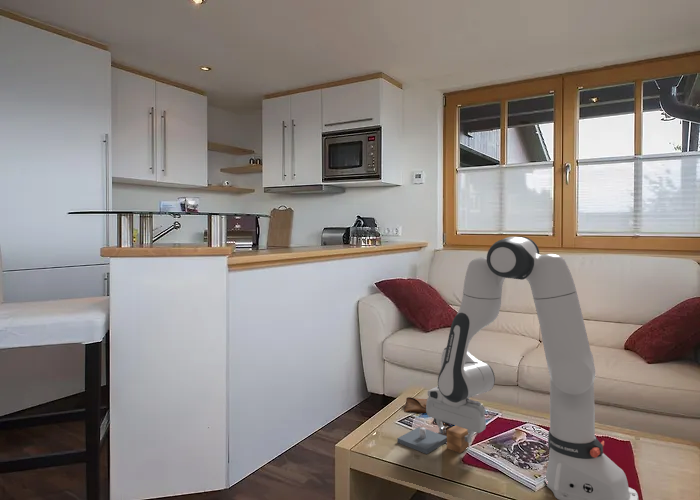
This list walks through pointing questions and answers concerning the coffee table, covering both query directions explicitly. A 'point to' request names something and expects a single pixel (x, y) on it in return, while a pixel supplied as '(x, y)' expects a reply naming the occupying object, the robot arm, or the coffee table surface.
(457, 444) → the block
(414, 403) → the sunglasses case
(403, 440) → the carrier plate
